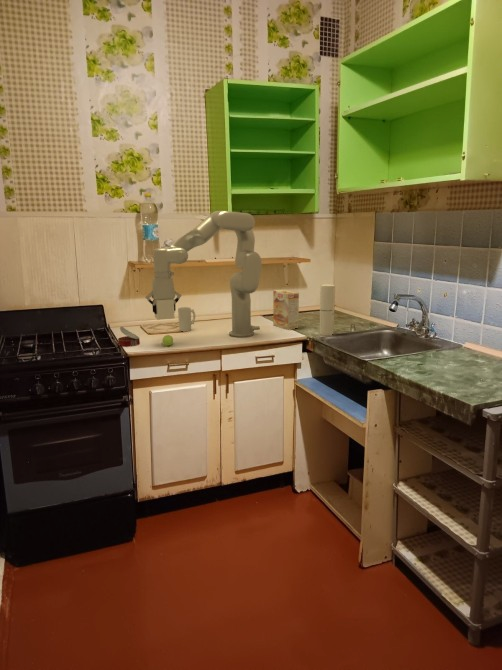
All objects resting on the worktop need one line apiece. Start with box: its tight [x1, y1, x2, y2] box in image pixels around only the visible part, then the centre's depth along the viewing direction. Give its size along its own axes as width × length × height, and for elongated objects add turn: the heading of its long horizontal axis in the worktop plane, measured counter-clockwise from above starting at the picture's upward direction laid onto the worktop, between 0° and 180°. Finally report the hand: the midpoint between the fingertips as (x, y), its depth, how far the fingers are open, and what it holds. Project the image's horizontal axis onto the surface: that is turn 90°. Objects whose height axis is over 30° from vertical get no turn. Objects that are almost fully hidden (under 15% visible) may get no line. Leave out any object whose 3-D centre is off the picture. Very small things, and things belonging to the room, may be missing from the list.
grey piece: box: [154, 299, 175, 321], centre depth 239 cm, size 8×8×9 cm
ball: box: [161, 334, 174, 347], centre depth 238 cm, size 5×5×5 cm
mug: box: [177, 306, 196, 333], centre depth 271 cm, size 10×7×12 cm, turn 130°
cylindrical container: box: [318, 283, 336, 336], centre depth 258 cm, size 7×7×25 cm
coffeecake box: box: [272, 289, 300, 331], centre depth 276 cm, size 15×7×20 cm, turn 30°
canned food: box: [117, 326, 141, 348], centre depth 242 cm, size 11×10×10 cm
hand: (164, 312), depth 239 cm, fingers closed on grey piece, 7 cm apart
